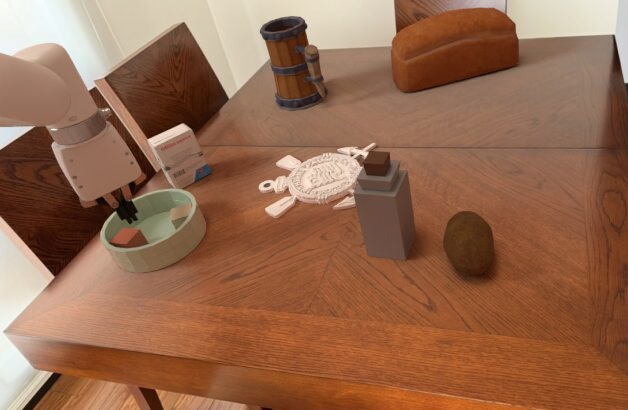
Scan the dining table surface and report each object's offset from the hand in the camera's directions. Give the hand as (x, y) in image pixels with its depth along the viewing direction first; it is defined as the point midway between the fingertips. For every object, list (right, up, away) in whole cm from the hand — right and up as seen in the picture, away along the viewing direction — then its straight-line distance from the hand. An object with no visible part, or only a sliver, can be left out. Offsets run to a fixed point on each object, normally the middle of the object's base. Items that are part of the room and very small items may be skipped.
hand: (131, 219), depth 88 cm
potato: (+58, -6, -7) cm, 59 cm away
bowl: (+1, -4, +9) cm, 10 cm away
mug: (+24, +30, +47) cm, 61 cm away
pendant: (+32, +7, +16) cm, 37 cm away
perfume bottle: (+46, -4, -2) cm, 46 cm away
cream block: (+6, -2, +10) cm, 12 cm away
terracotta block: (-3, -6, +6) cm, 9 cm away
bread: (+64, +38, +47) cm, 88 cm away
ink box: (+1, +8, +25) cm, 26 cm away
